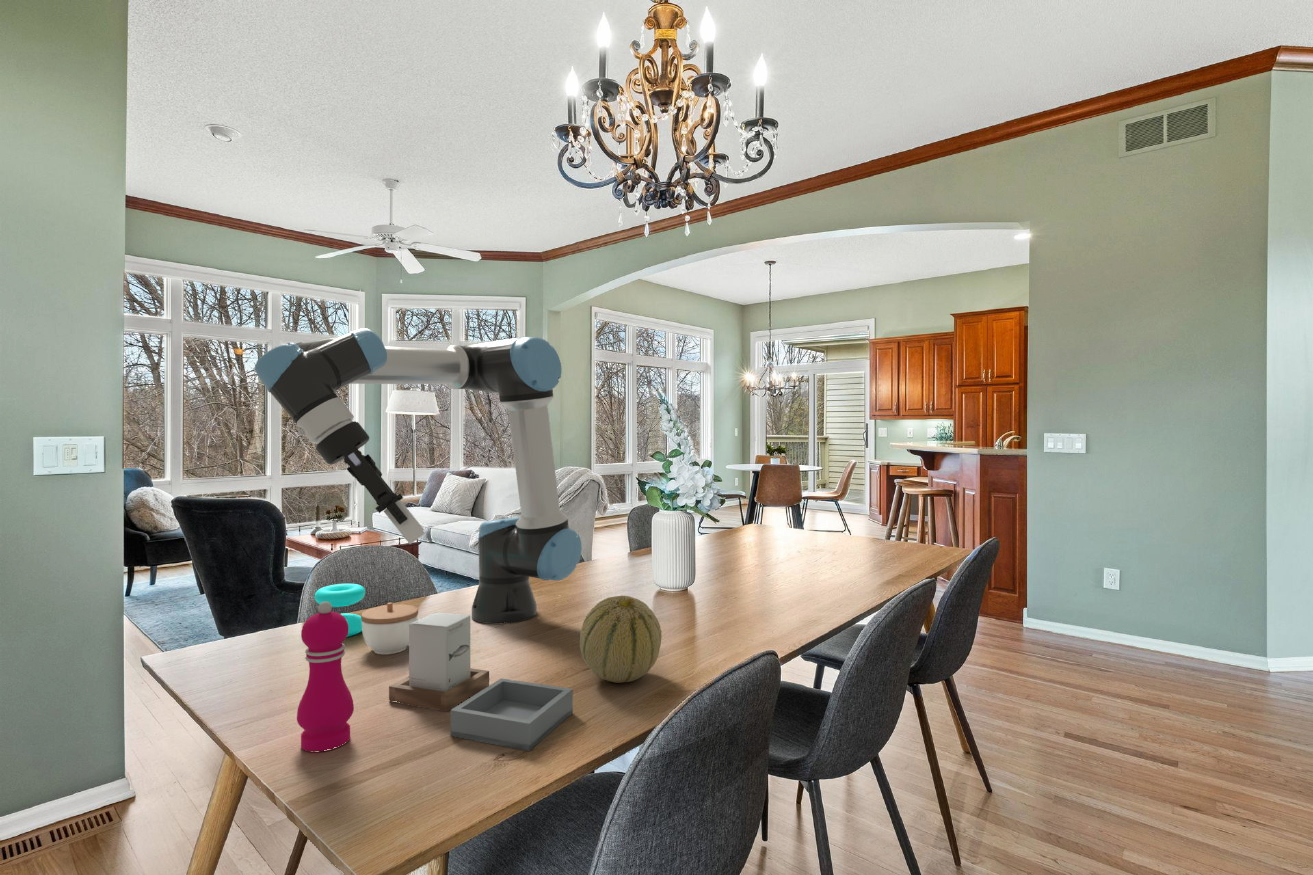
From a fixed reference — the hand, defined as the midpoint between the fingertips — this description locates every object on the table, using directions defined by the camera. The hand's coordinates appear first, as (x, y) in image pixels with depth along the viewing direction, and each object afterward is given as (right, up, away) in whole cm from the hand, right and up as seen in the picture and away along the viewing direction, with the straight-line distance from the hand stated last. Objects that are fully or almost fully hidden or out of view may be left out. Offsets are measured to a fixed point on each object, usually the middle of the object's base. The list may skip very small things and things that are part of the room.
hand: (417, 536), depth 109 cm
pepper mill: (-7, -27, -15) cm, 32 cm away
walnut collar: (+3, -27, +2) cm, 27 cm away
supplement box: (+3, -27, +2) cm, 27 cm away
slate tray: (+18, -27, -10) cm, 34 cm away
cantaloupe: (+33, -27, +8) cm, 43 cm away
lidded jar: (-14, -27, +24) cm, 39 cm away
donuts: (-30, -26, +35) cm, 53 cm away
